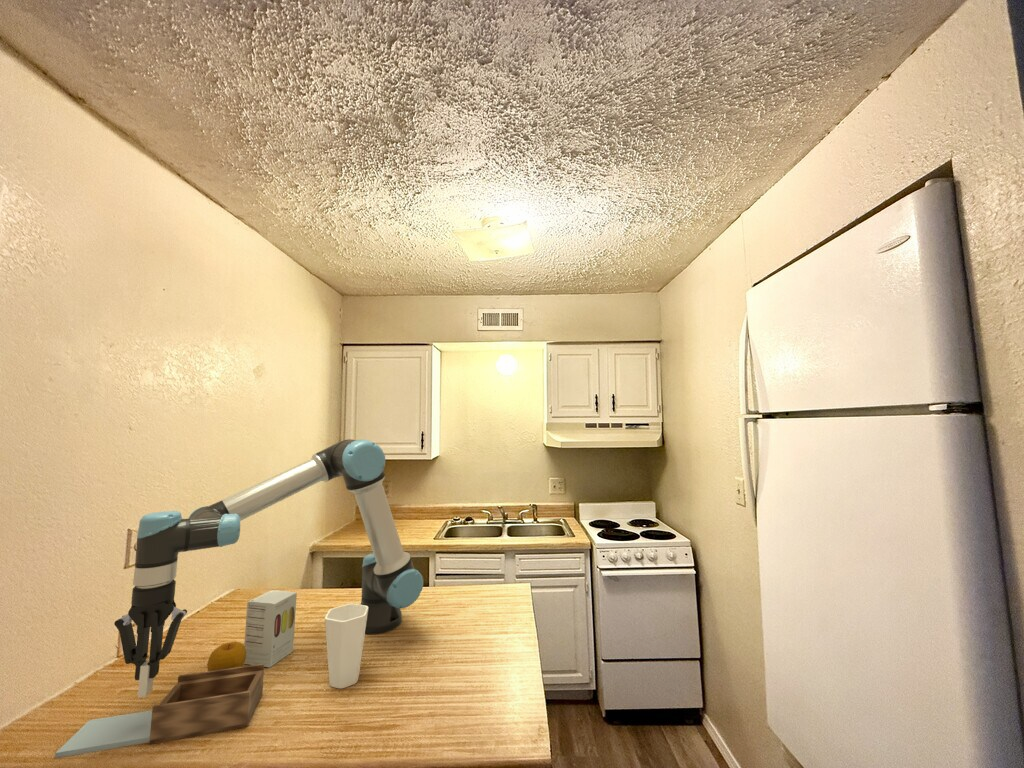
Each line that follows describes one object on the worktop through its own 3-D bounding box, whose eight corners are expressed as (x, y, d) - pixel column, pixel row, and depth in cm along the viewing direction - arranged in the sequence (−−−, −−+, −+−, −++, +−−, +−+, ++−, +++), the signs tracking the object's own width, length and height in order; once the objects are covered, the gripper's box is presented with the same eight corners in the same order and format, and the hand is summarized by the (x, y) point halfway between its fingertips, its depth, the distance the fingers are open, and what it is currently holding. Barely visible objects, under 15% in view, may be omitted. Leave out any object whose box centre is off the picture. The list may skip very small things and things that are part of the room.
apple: (214, 694, 104) (217, 656, 105) (199, 683, 109) (201, 647, 110) (251, 676, 111) (253, 641, 112) (235, 667, 116) (237, 633, 117)
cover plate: (173, 713, 98) (174, 706, 98) (150, 744, 88) (150, 736, 88) (88, 727, 93) (89, 719, 94) (54, 761, 84) (55, 752, 84)
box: (262, 694, 104) (264, 663, 105) (247, 727, 93) (249, 692, 93) (176, 707, 99) (179, 675, 100) (149, 744, 88) (152, 707, 88)
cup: (374, 673, 113) (376, 607, 115) (348, 696, 103) (351, 623, 105) (340, 666, 117) (343, 601, 118) (312, 687, 107) (316, 616, 109)
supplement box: (269, 668, 115) (273, 604, 117) (241, 664, 117) (245, 601, 119) (294, 650, 125) (297, 591, 126) (267, 647, 126) (271, 588, 128)
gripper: (195, 574, 101) (187, 679, 98) (129, 579, 97) (119, 688, 95) (181, 585, 94) (171, 698, 91) (109, 591, 90) (97, 710, 87)
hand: (145, 693), depth 93 cm, fingers closed
